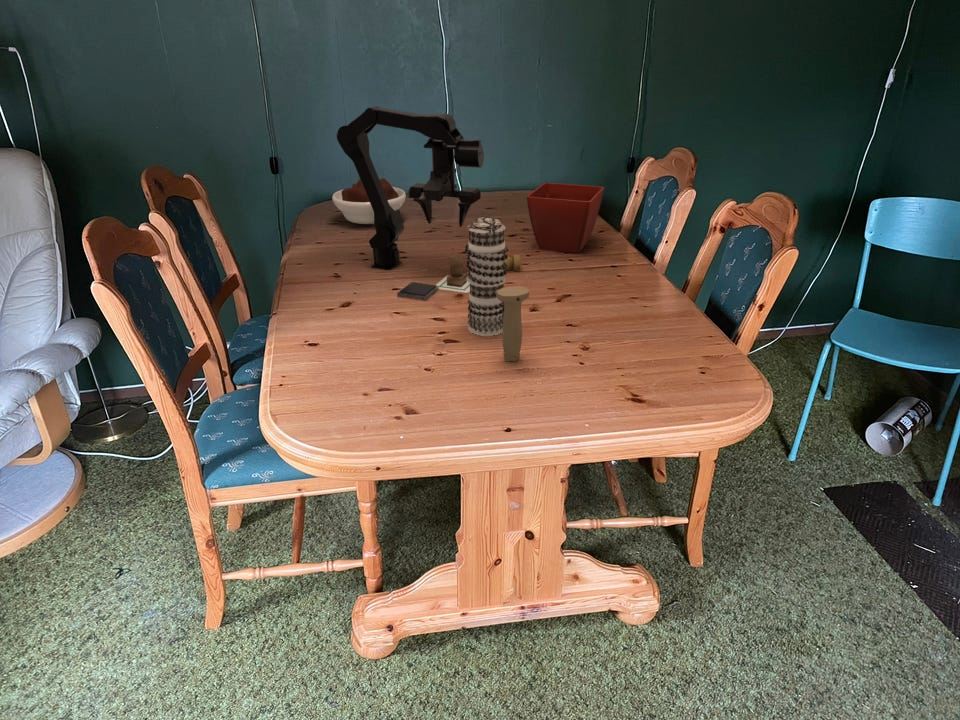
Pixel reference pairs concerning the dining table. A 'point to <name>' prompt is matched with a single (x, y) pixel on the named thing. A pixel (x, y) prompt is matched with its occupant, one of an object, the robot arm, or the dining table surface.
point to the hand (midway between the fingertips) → (445, 224)
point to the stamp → (456, 272)
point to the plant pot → (563, 215)
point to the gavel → (513, 263)
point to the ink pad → (418, 291)
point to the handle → (512, 320)
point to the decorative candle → (486, 275)
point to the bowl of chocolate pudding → (365, 201)
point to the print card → (443, 286)
